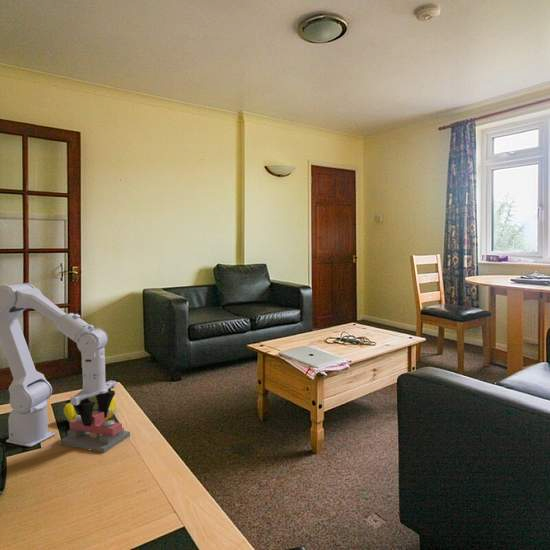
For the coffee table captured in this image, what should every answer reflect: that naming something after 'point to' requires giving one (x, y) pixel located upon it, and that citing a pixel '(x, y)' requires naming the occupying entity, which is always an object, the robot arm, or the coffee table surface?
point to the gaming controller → (72, 414)
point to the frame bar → (97, 425)
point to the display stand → (93, 440)
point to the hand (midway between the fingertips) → (95, 421)
